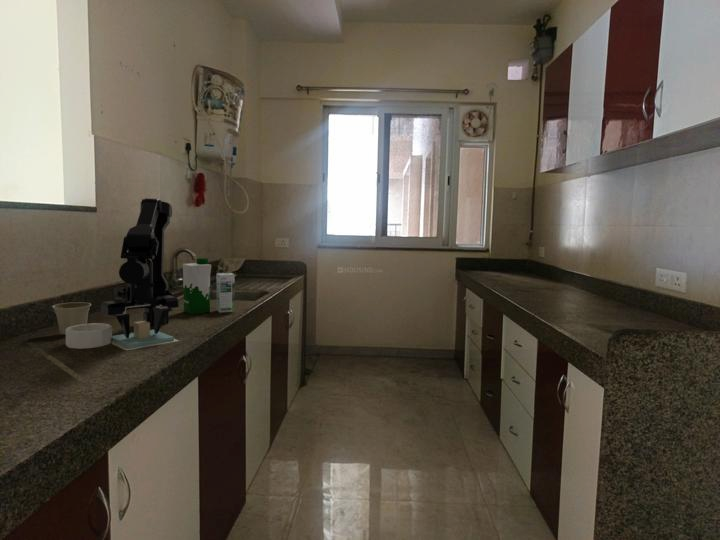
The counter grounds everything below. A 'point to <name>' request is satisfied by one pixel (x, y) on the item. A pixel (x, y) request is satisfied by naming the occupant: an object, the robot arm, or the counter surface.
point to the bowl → (88, 335)
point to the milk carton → (196, 286)
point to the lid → (141, 336)
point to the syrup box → (225, 292)
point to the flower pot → (71, 314)
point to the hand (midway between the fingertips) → (141, 335)
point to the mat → (141, 346)
